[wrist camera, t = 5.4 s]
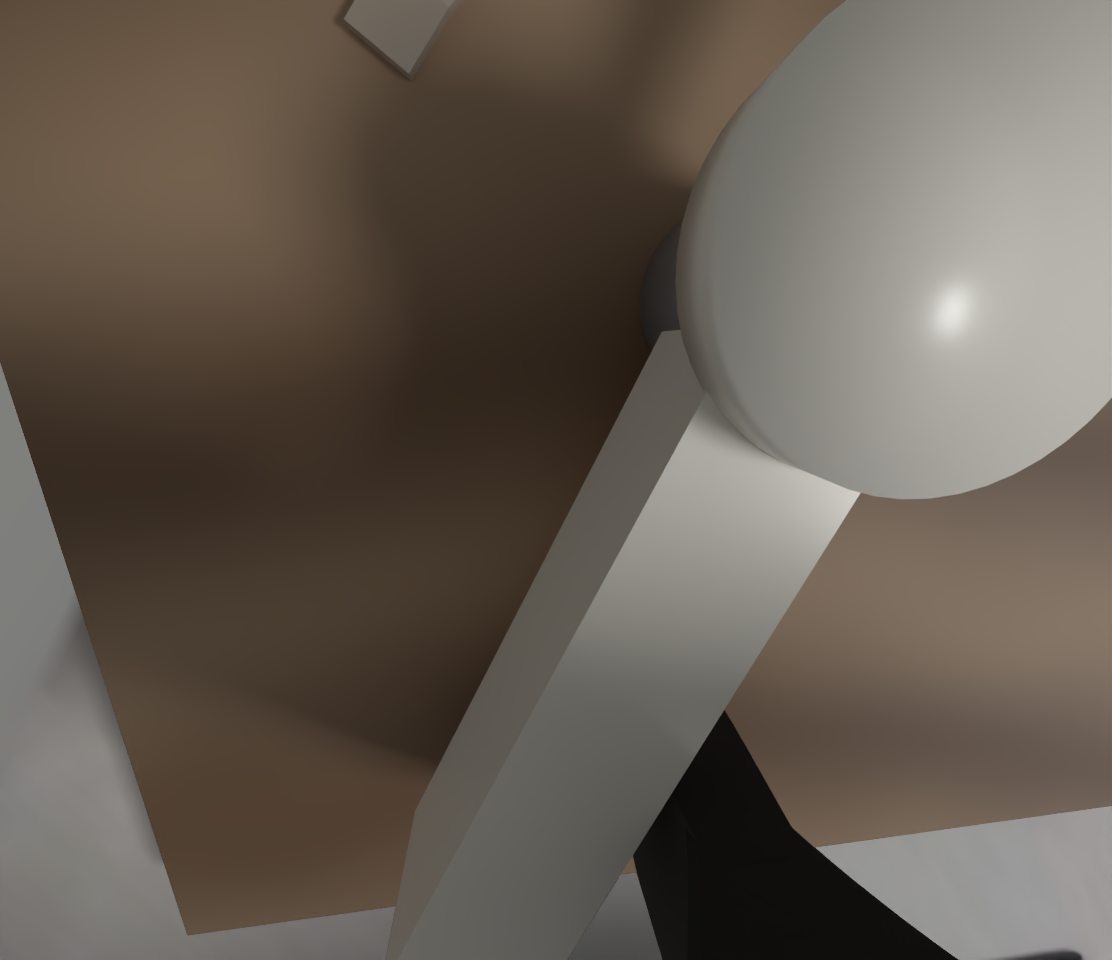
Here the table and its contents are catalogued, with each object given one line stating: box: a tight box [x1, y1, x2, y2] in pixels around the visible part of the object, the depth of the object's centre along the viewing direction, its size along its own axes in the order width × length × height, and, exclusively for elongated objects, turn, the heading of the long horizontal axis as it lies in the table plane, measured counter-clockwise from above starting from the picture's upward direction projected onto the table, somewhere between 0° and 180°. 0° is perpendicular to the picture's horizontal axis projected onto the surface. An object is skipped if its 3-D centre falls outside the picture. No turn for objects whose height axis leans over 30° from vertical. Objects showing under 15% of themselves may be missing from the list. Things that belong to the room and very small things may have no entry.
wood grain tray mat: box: [0, 0, 1112, 935], centre depth 9 cm, size 18×20×1 cm
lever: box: [385, 0, 1112, 960], centre depth 6 cm, size 15×4×4 cm, turn 154°
